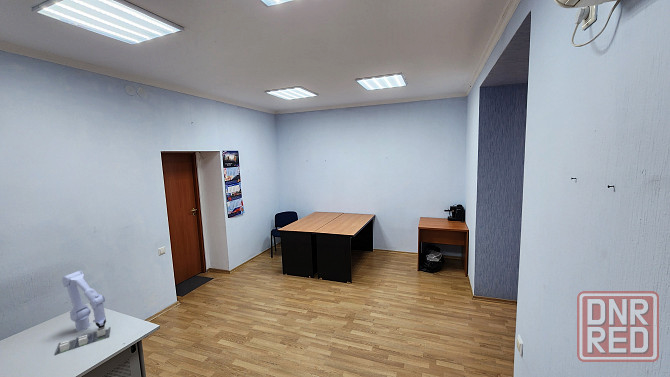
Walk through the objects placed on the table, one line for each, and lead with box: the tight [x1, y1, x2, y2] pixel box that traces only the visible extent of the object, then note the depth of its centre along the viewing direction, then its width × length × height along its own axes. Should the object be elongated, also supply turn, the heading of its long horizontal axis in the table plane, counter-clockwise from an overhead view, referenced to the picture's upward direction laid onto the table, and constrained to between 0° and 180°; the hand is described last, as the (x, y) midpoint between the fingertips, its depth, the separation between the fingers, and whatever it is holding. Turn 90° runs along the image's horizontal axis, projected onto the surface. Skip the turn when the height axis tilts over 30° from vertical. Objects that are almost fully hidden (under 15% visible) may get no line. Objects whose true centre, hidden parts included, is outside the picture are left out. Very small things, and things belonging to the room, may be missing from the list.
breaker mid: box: [78, 334, 88, 347], centre depth 182 cm, size 4×4×4 cm
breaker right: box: [59, 340, 70, 352], centre depth 177 cm, size 4×4×4 cm
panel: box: [54, 326, 111, 356], centre depth 185 cm, size 12×27×2 cm, turn 126°
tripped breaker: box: [96, 326, 107, 337], centre depth 191 cm, size 4×4×4 cm
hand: (102, 330), depth 194 cm, fingers closed
